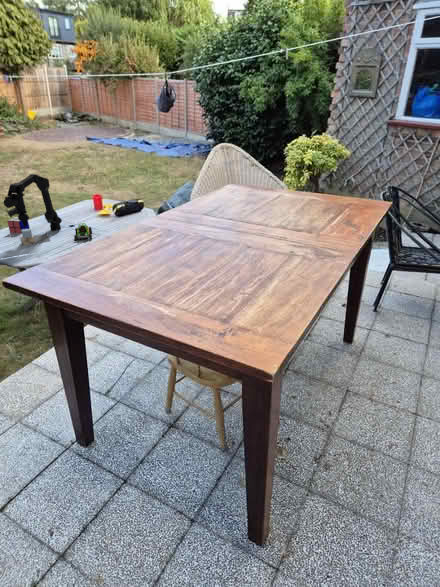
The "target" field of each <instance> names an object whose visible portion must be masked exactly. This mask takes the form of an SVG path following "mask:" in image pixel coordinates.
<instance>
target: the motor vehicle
mask: <svg viewBox="0 0 440 587" xmlns="http://www.w3.org/2000/svg"><path fill="white" fill-rule="evenodd" d="M77 223H78V226H77V227H76V228H75V229H74V231H75V235H73V239H74V241H75V242H78V239H85V238H89V240H90V241H91V240H92V241H93V236H92V234H93V230H92V226H91V227H90V226H88V225H87V224H86V223H85V222H83V223H79V222H77Z"/></svg>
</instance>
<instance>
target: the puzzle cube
mask: <svg viewBox="0 0 440 587" xmlns="http://www.w3.org/2000/svg"><path fill="white" fill-rule="evenodd" d="M6 222H7V226H8V230H9V233H11V234H12V233H13V234H22V231H21V230H23V229H29V228H30V224H29V220H28V221H27V225H26V227H24V225H23V223H22V221H21V220H19V219H18V216H14V217H11V218H10V219H8V220H6ZM30 229H31V228H30Z"/></svg>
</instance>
